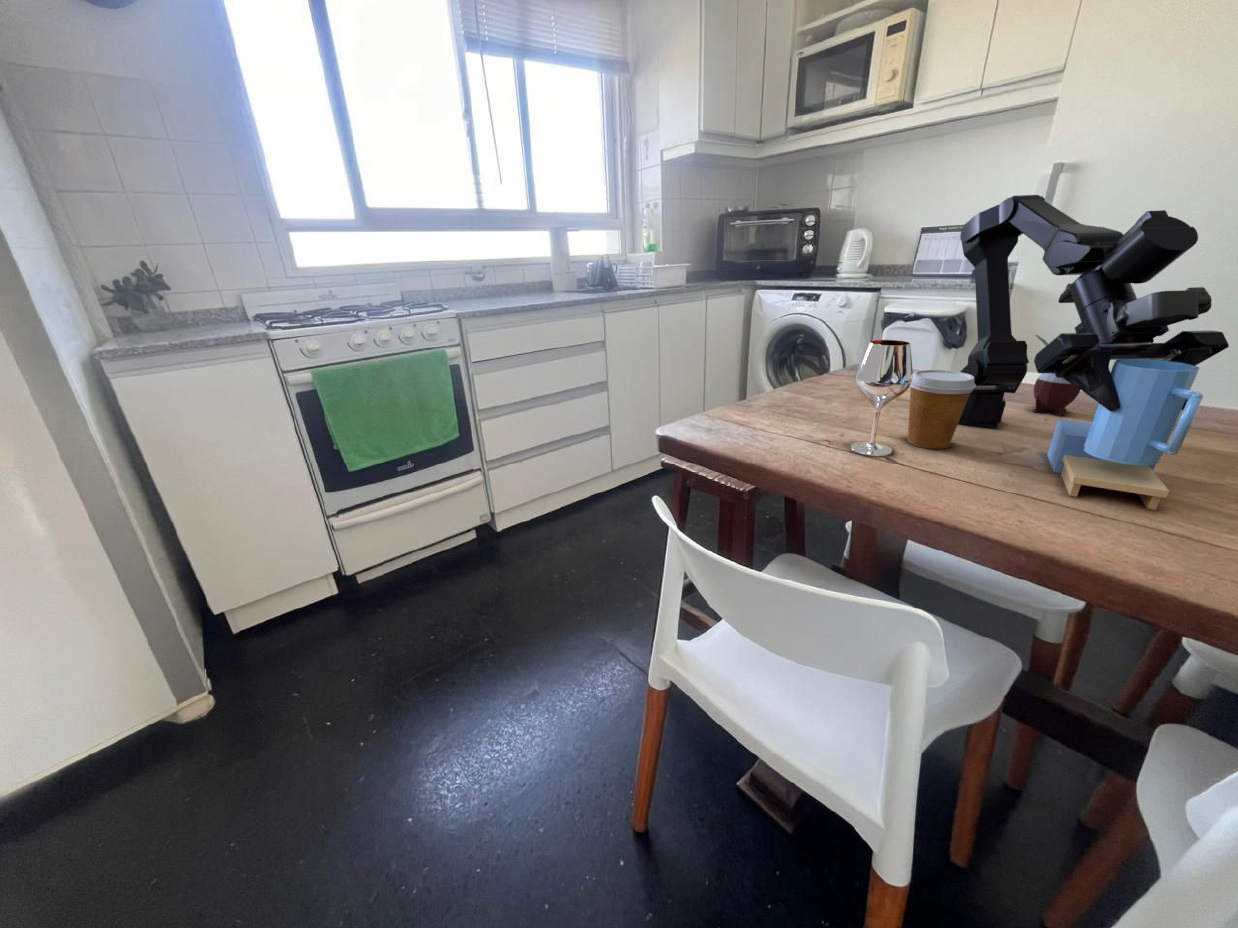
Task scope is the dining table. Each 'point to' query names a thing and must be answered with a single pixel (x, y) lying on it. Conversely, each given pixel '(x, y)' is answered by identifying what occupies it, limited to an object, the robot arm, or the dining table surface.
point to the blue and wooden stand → (1099, 467)
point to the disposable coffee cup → (937, 406)
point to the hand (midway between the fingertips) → (1148, 409)
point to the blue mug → (1145, 412)
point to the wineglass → (882, 383)
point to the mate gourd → (1053, 392)
